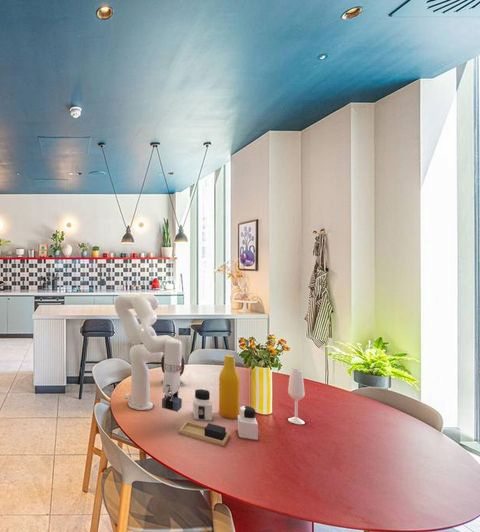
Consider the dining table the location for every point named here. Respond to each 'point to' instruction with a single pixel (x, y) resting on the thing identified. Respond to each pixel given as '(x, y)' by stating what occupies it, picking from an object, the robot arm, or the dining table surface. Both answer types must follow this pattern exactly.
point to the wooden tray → (200, 432)
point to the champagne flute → (296, 392)
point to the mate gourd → (181, 366)
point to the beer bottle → (229, 389)
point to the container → (202, 405)
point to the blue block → (174, 403)
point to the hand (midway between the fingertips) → (171, 406)
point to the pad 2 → (215, 431)
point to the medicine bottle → (247, 423)
